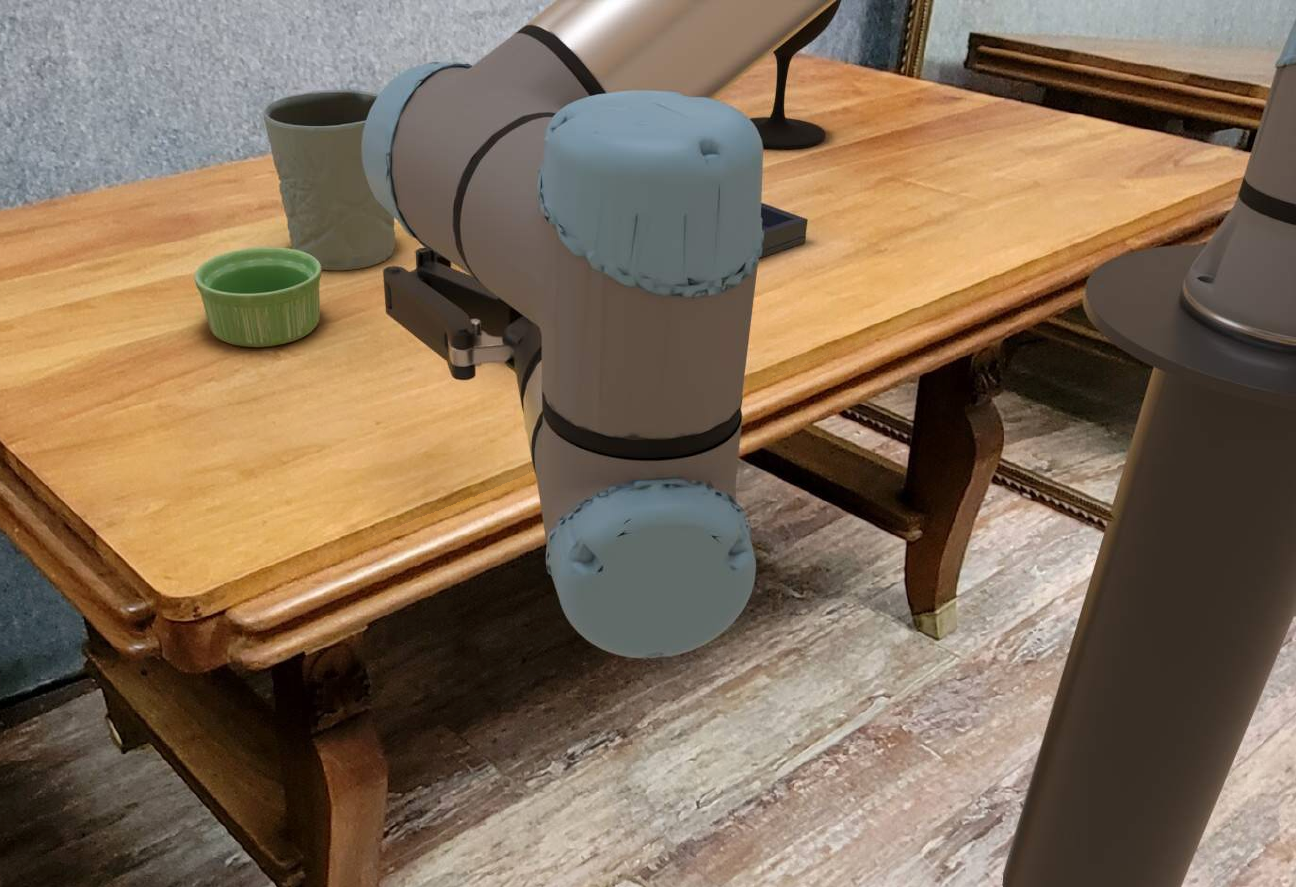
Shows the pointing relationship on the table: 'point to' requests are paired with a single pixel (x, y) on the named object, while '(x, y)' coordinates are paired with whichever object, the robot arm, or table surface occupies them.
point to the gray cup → (328, 178)
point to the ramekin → (260, 295)
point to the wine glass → (778, 127)
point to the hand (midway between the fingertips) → (554, 233)
